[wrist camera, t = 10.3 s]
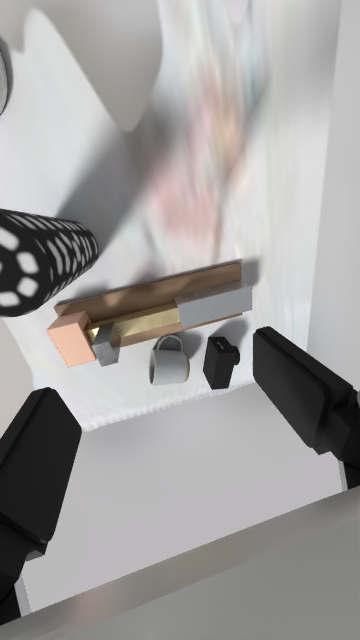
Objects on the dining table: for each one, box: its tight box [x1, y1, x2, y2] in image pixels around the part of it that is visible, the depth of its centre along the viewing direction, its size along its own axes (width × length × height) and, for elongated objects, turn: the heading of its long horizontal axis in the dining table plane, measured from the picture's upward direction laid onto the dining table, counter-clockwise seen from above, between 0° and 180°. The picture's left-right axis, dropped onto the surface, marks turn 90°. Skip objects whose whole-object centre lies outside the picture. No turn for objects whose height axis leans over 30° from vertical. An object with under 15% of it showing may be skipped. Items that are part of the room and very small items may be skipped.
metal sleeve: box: [173, 280, 252, 328], centre depth 38 cm, size 5×15×5 cm, turn 101°
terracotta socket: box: [46, 310, 97, 368], centre depth 35 cm, size 8×5×6 cm, turn 11°
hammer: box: [83, 303, 180, 367], centre depth 33 cm, size 4×22×10 cm, turn 101°
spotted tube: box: [0, 209, 98, 317], centre depth 23 cm, size 8×8×20 cm
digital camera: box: [203, 337, 240, 390], centre depth 45 cm, size 10×5×7 cm, turn 176°
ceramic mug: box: [149, 334, 190, 386], centre depth 42 cm, size 11×8×8 cm
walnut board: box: [54, 262, 242, 347], centre depth 39 cm, size 12×37×1 cm, turn 101°
